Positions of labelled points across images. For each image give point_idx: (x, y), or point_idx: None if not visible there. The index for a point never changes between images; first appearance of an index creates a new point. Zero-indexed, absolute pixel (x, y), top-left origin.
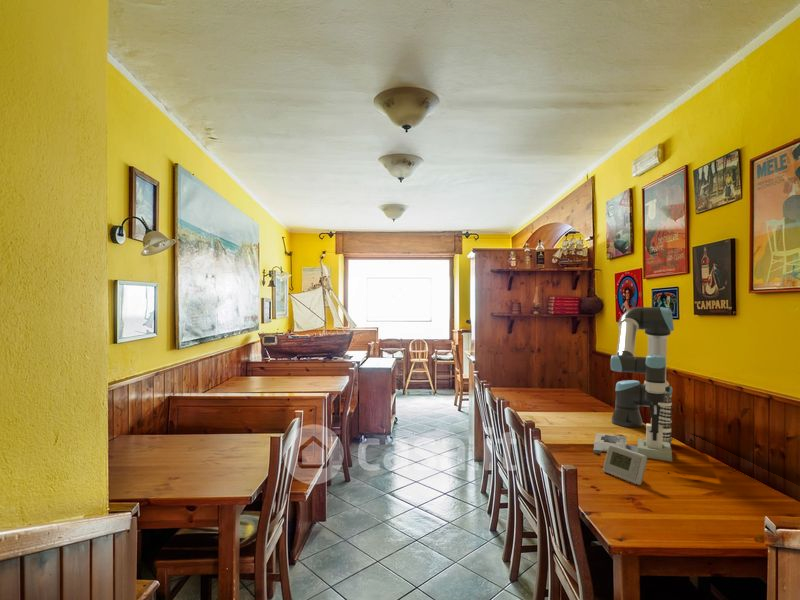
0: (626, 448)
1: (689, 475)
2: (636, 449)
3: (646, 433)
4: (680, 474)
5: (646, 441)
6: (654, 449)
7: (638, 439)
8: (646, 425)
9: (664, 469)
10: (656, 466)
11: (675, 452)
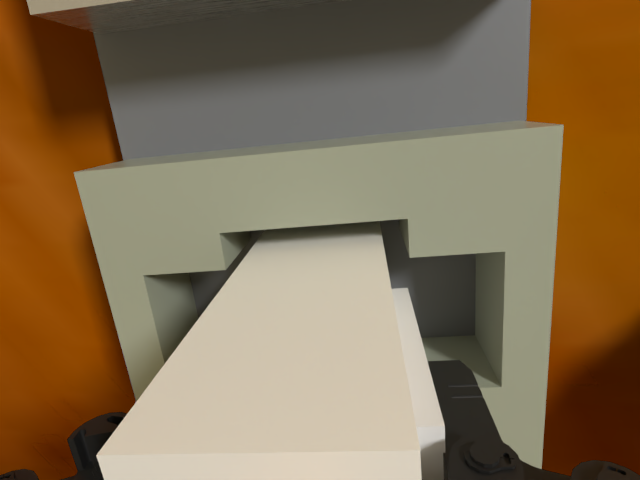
0: (337, 9)
1: (57, 477)
2: (367, 123)
3: (185, 336)
4: (33, 435)
5: (230, 277)
6: (147, 339)
7: (502, 142)
8: (140, 451)
9: (56, 351)
10: (82, 302)
11: (583, 427)
